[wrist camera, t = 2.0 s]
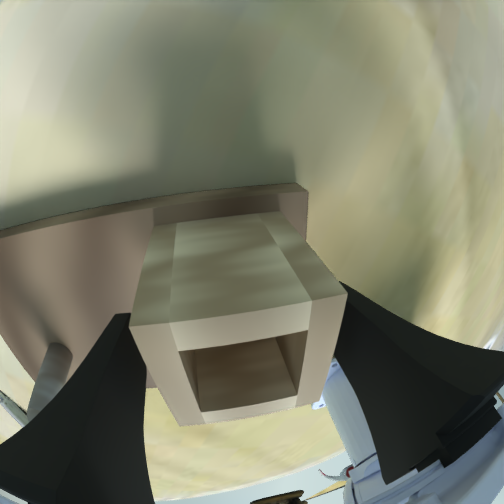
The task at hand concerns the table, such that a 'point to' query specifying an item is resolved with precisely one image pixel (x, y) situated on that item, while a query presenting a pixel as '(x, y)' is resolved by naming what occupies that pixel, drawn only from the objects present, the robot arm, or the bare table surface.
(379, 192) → the table surface
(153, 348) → the hollow square tube
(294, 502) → the owl figurine
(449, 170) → the table surface
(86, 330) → the brown board with peg
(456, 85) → the table surface
